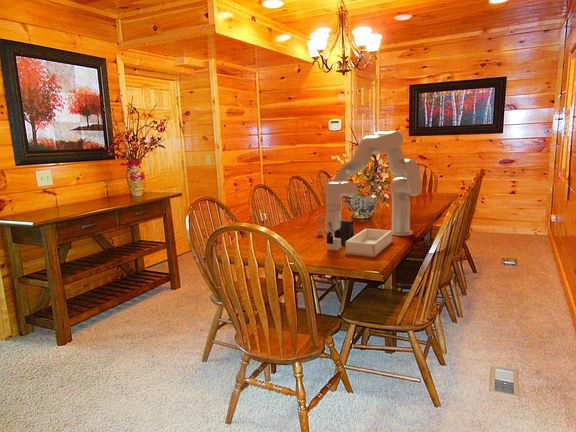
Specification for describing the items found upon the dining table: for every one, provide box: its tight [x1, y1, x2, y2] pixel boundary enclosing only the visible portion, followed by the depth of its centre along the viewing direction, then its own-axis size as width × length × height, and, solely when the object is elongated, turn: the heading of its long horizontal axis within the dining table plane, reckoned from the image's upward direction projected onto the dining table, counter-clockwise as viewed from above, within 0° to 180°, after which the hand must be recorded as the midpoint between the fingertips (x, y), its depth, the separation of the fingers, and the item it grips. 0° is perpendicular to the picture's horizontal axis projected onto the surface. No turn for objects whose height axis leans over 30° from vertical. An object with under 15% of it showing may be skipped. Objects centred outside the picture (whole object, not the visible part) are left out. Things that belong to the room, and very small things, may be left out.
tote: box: [344, 228, 393, 258], centre depth 212 cm, size 30×14×6 cm, turn 151°
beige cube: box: [327, 237, 342, 251], centre depth 213 cm, size 5×5×5 cm
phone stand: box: [341, 219, 356, 246], centre depth 223 cm, size 9×6×12 cm, turn 149°
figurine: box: [312, 213, 326, 237], centre depth 240 cm, size 8×6×12 cm
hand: (333, 241), depth 212 cm, fingers open, 9 cm apart
